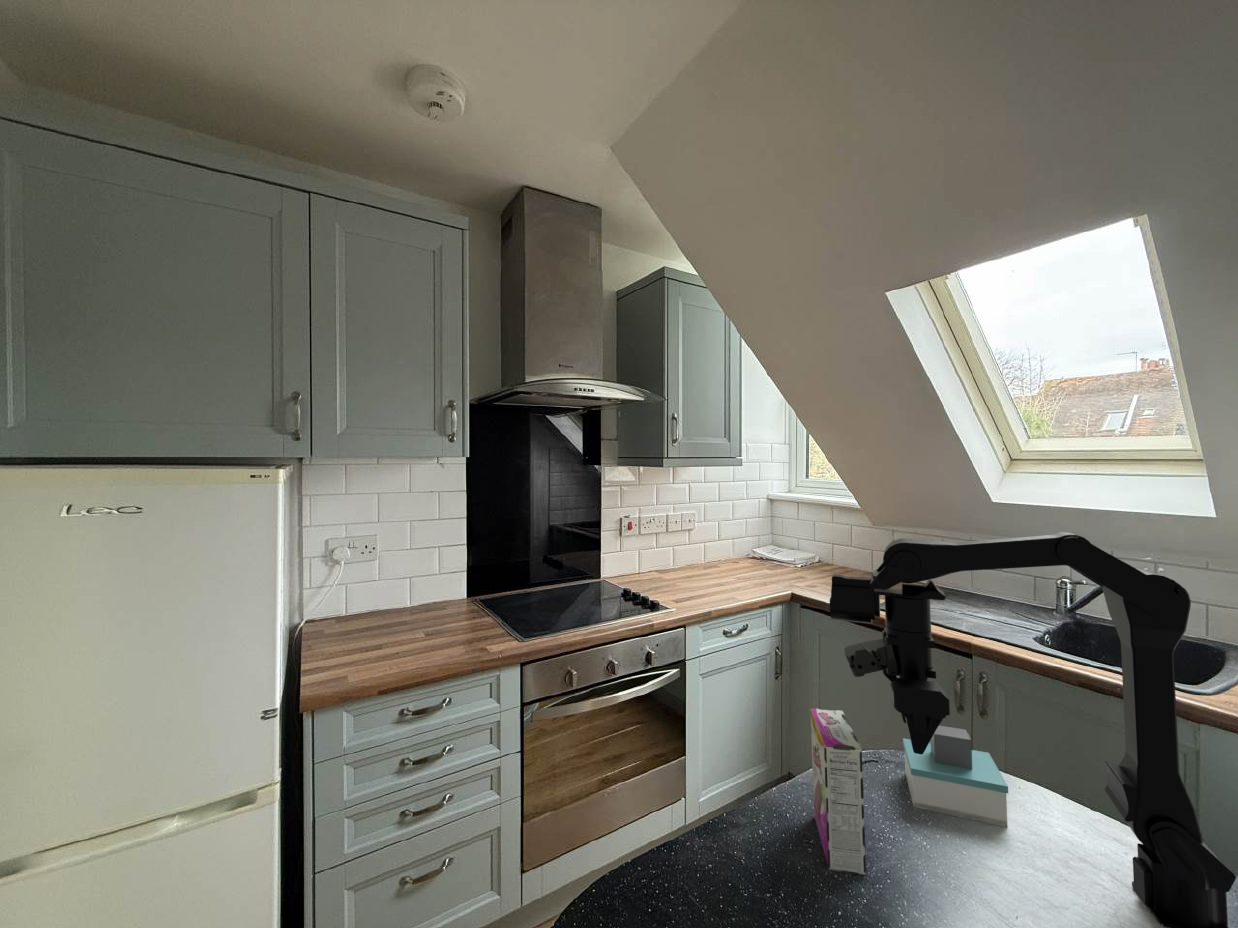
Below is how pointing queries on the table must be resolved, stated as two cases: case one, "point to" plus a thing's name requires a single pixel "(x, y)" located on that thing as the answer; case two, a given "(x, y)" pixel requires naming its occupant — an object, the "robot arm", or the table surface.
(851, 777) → the candy bar box
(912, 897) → the table surface
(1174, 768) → the robot arm
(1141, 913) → the table surface
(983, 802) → the storage box
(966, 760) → the lid
